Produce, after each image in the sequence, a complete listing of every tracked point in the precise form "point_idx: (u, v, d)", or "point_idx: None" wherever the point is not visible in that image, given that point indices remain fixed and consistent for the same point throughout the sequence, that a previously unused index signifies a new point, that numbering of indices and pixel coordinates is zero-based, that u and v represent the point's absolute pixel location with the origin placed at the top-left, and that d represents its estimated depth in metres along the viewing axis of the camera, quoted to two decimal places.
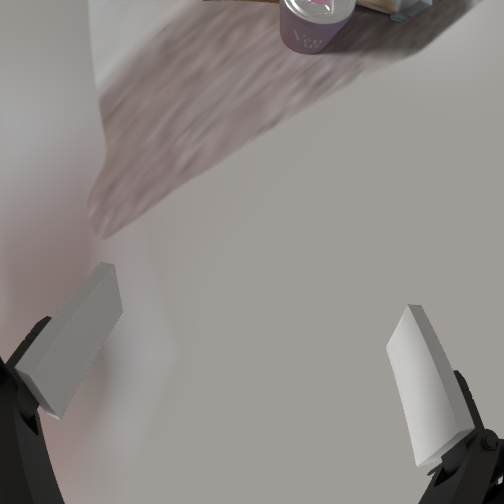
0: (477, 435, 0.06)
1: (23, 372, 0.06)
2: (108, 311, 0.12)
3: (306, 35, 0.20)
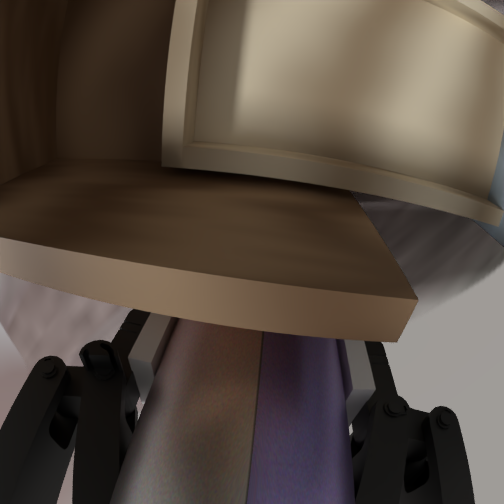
0: (377, 403, 0.07)
1: (140, 360, 0.08)
2: None
3: None
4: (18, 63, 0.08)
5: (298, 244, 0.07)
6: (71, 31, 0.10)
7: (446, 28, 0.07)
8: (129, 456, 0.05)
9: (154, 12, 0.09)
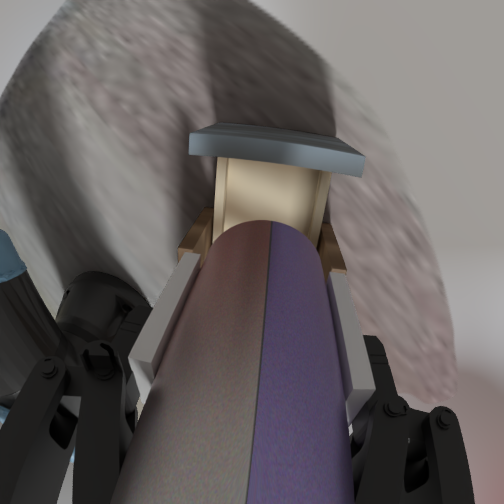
0: (377, 403, 0.07)
1: (141, 360, 0.08)
2: None
3: None
4: None
5: None
6: None
7: (237, 184, 0.27)
8: (129, 456, 0.05)
9: None
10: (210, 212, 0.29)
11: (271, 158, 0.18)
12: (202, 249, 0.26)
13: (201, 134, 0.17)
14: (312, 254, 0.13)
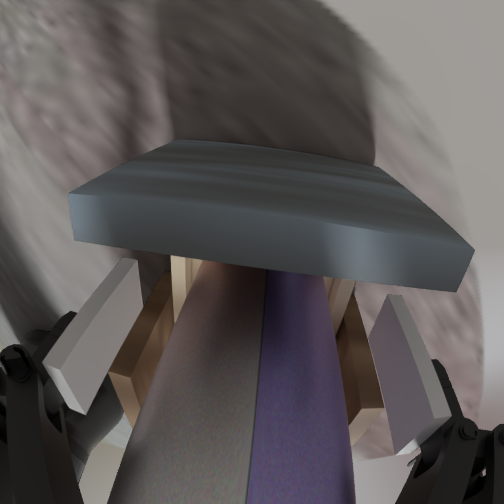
0: (454, 425, 0.06)
1: (52, 367, 0.07)
2: (131, 306, 0.12)
3: None
4: None
5: None
6: None
7: None
8: (139, 422, 0.06)
9: None
10: None
11: (259, 257, 0.07)
12: (155, 352, 0.16)
13: (90, 195, 0.07)
14: None
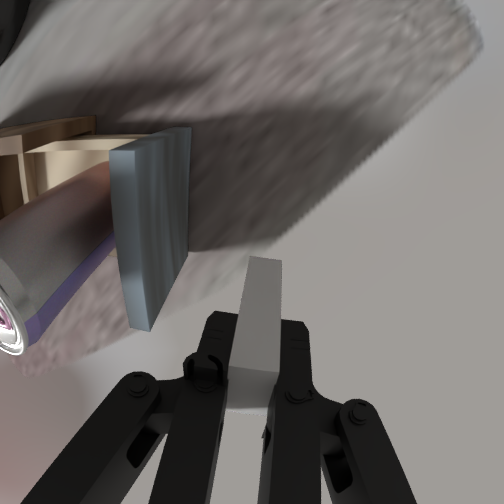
0: (277, 391, 0.08)
1: (242, 368, 0.08)
2: None
3: None
4: None
5: None
6: (0, 170, 0.22)
7: None
8: (32, 231, 0.11)
9: None
10: (87, 127, 0.20)
11: (120, 249, 0.15)
12: None
13: (134, 166, 0.12)
14: None
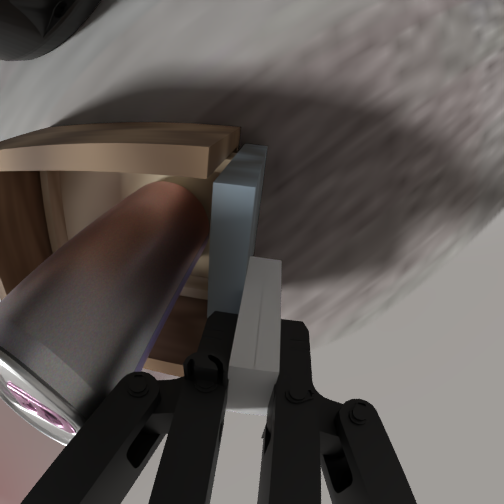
0: (277, 391, 0.08)
1: (243, 368, 0.08)
2: None
3: None
4: (36, 216, 0.18)
5: (168, 340, 0.17)
6: None
7: (175, 177, 0.18)
8: (90, 300, 0.08)
9: None
10: (236, 143, 0.17)
11: (214, 307, 0.12)
12: None
13: (251, 207, 0.10)
14: None
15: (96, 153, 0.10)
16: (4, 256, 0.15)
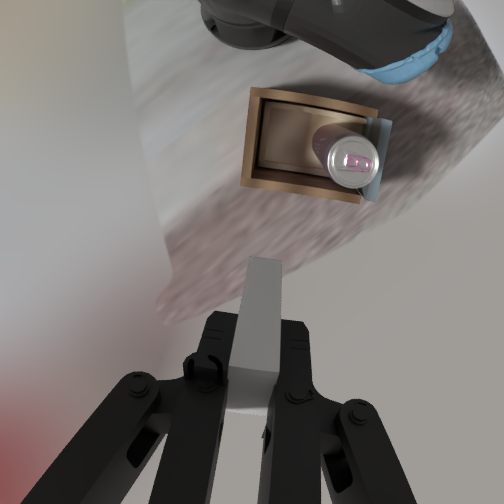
0: (277, 391, 0.08)
1: (243, 368, 0.08)
2: None
3: (321, 147, 0.32)
4: None
5: (341, 188, 0.39)
6: None
7: (336, 124, 0.40)
8: None
9: None
10: None
11: None
12: None
13: (391, 126, 0.32)
14: None
15: (342, 104, 0.32)
16: (254, 144, 0.36)
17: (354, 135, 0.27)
